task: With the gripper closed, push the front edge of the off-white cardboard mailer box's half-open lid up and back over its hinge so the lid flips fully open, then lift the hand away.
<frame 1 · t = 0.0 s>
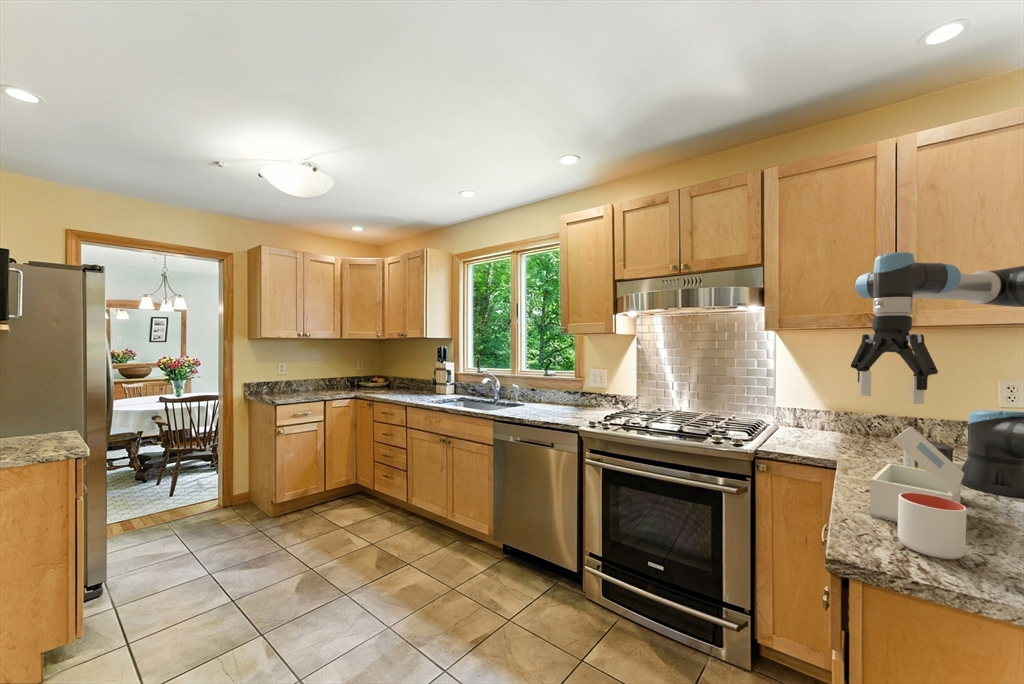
hand: (889, 399, 109), 28 cm above the countertop, fingers open, 13 cm apart
cup: (929, 550, 89), on the countertop
mailer box: (915, 513, 107), on the countertop
coffee can: (926, 494, 122), on the countertop
lid: (929, 456, 106), point 15 cm above the countertop, hinge at 45.0°
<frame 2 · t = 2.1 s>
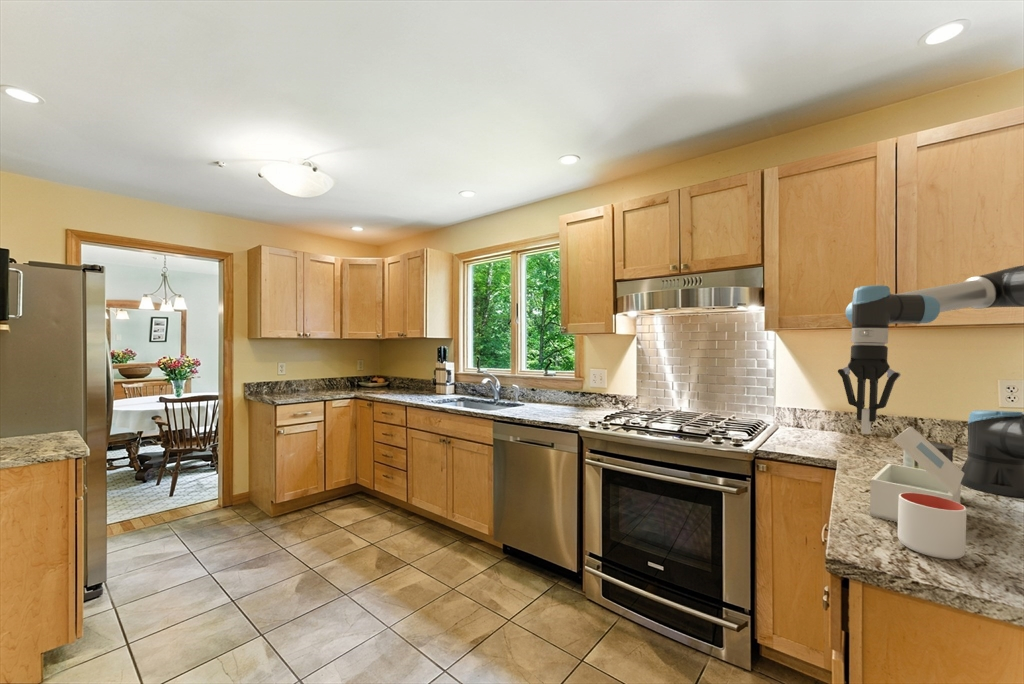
hand: (865, 433, 115), 18 cm above the countertop, fingers closed
nothing on the countertop moved.
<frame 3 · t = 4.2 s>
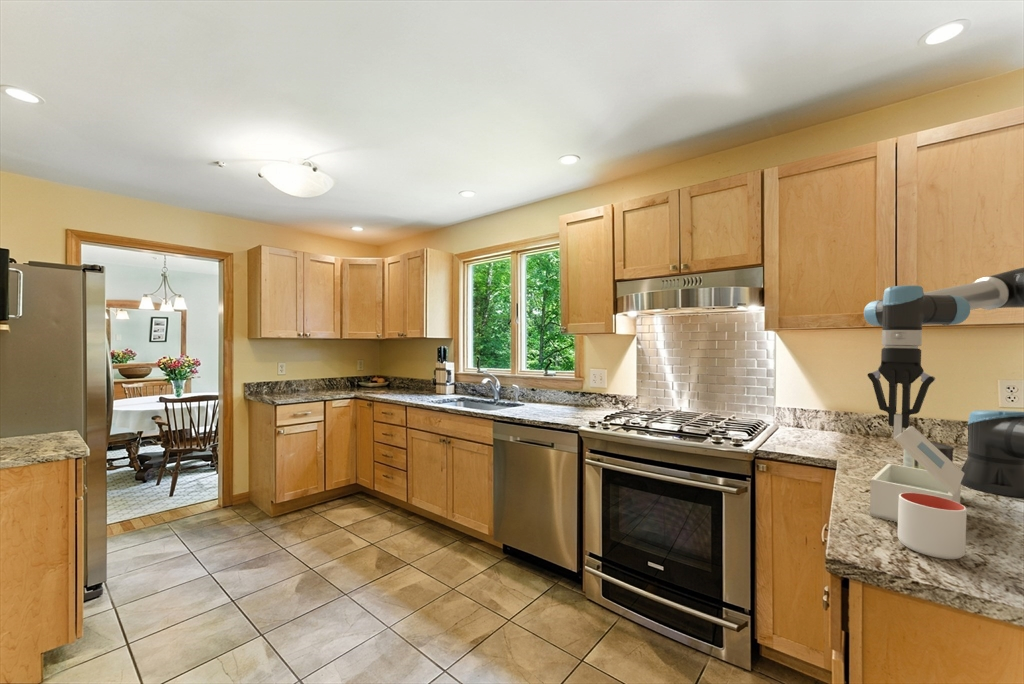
hand: (898, 439, 110), 18 cm above the countertop, fingers closed
lid: (930, 456, 105), point 15 cm above the countertop, hinge at 46.1°, touching gripper
everything else where it was.
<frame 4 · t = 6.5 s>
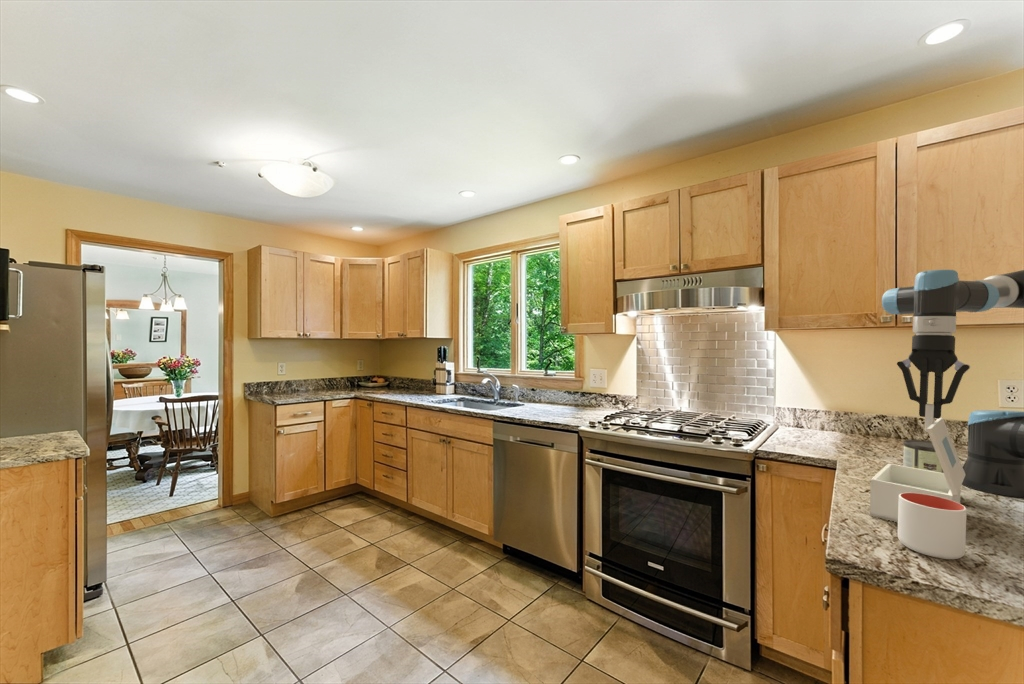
hand: (929, 430, 106), 21 cm above the countertop, fingers closed
lid: (947, 453, 103), point 16 cm above the countertop, hinge at 72.3°, touching gripper
everything else where it was.
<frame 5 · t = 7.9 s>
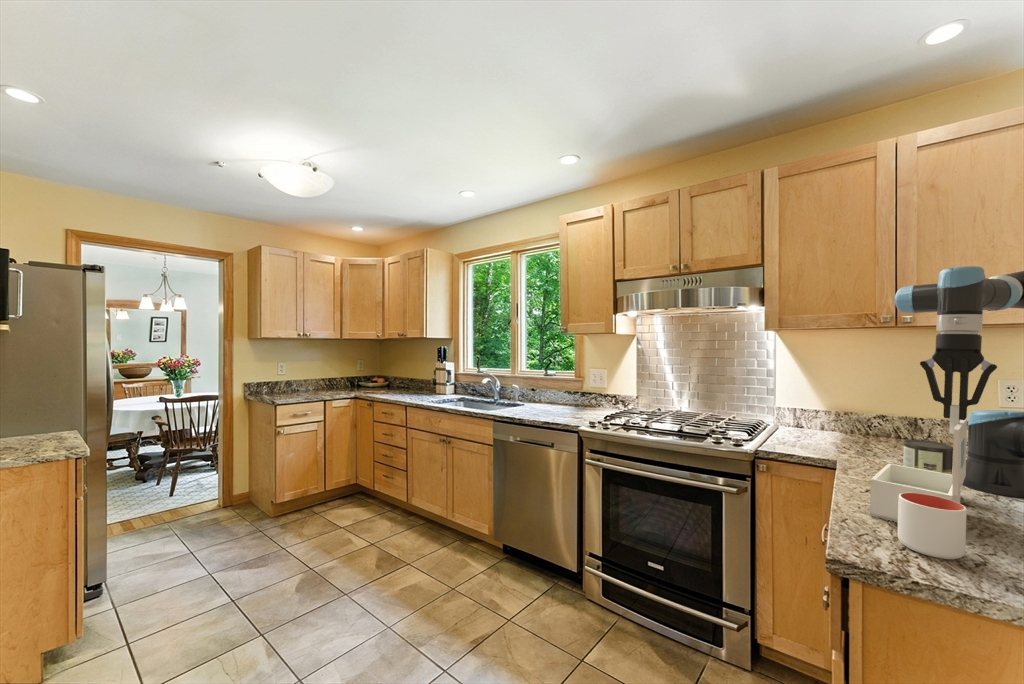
hand: (954, 432, 102), 21 cm above the countertop, fingers closed
lid: (960, 454, 102), point 17 cm above the countertop, hinge at 89.4°, touching gripper
everything else where it was.
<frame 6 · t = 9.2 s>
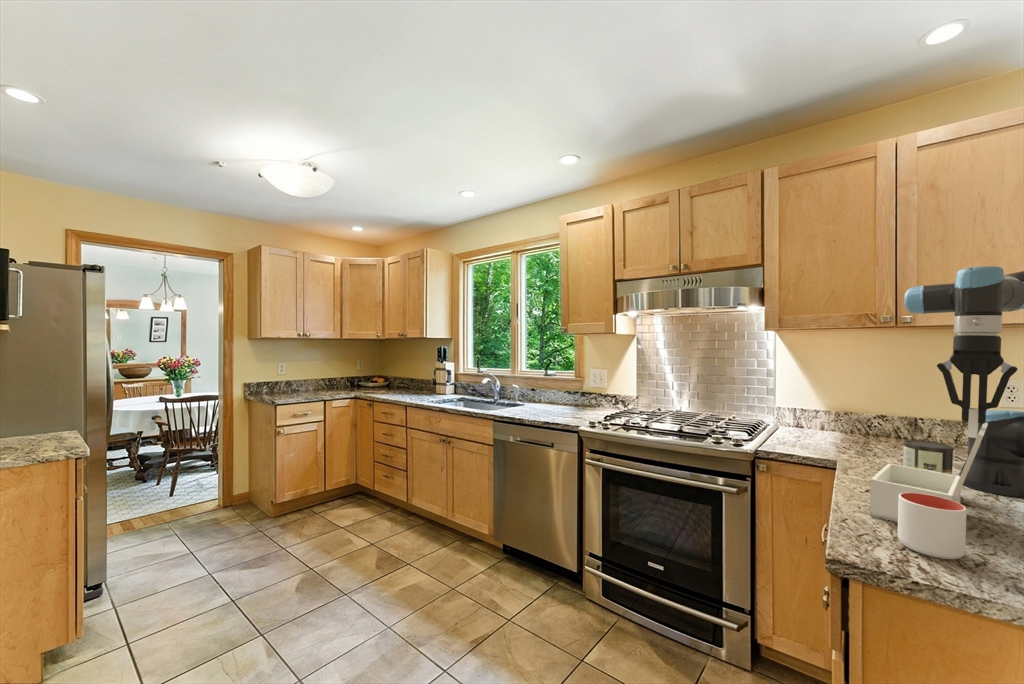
hand: (972, 436, 100), 21 cm above the countertop, fingers closed
lid: (971, 457, 100), point 16 cm above the countertop, hinge at 104.1°, touching gripper
everything else where it was.
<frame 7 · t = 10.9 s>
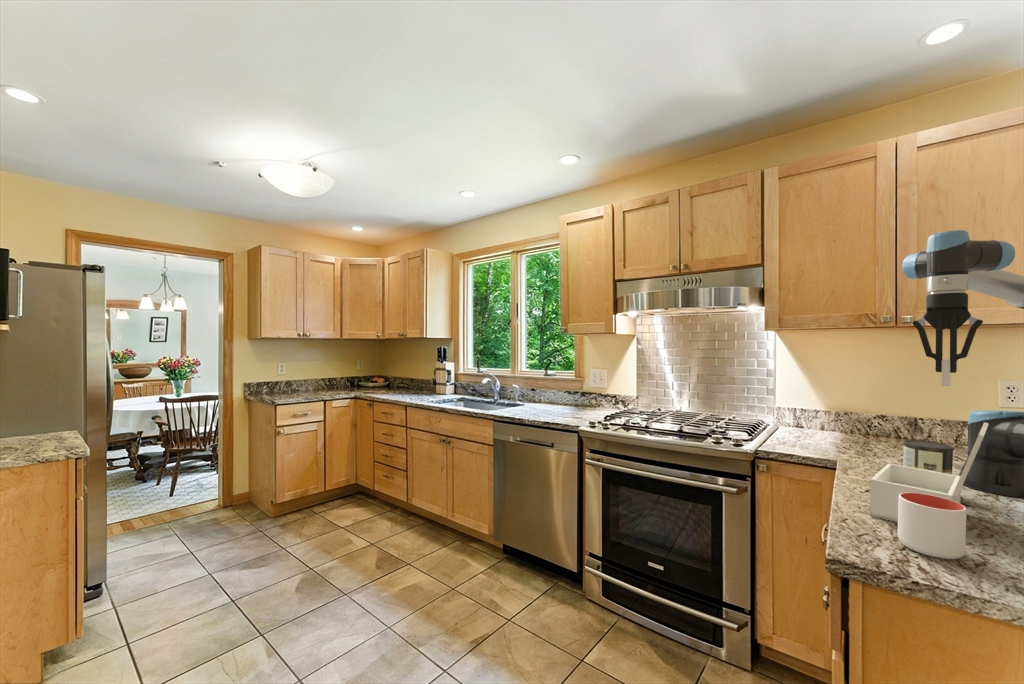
hand: (945, 385, 111), 32 cm above the countertop, fingers closed
lid: (971, 457, 100), point 16 cm above the countertop, hinge at 104.5°
everything else where it was.
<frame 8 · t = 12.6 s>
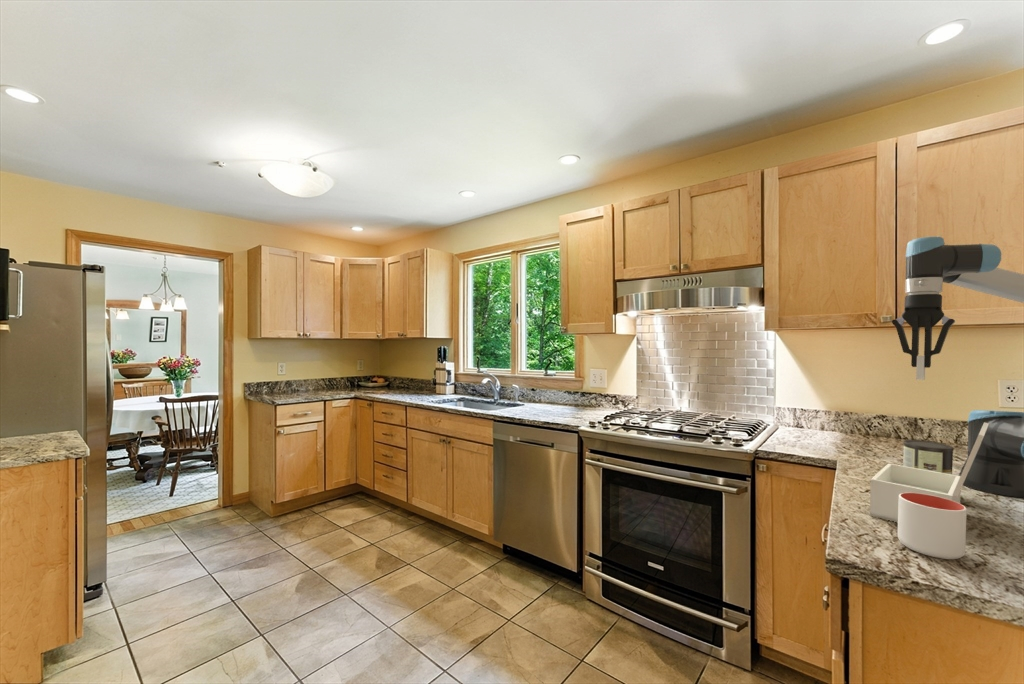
hand: (920, 379, 120), 32 cm above the countertop, fingers closed
nothing on the countertop moved.
at the end: lid at +104° (first picture: +45°) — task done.
